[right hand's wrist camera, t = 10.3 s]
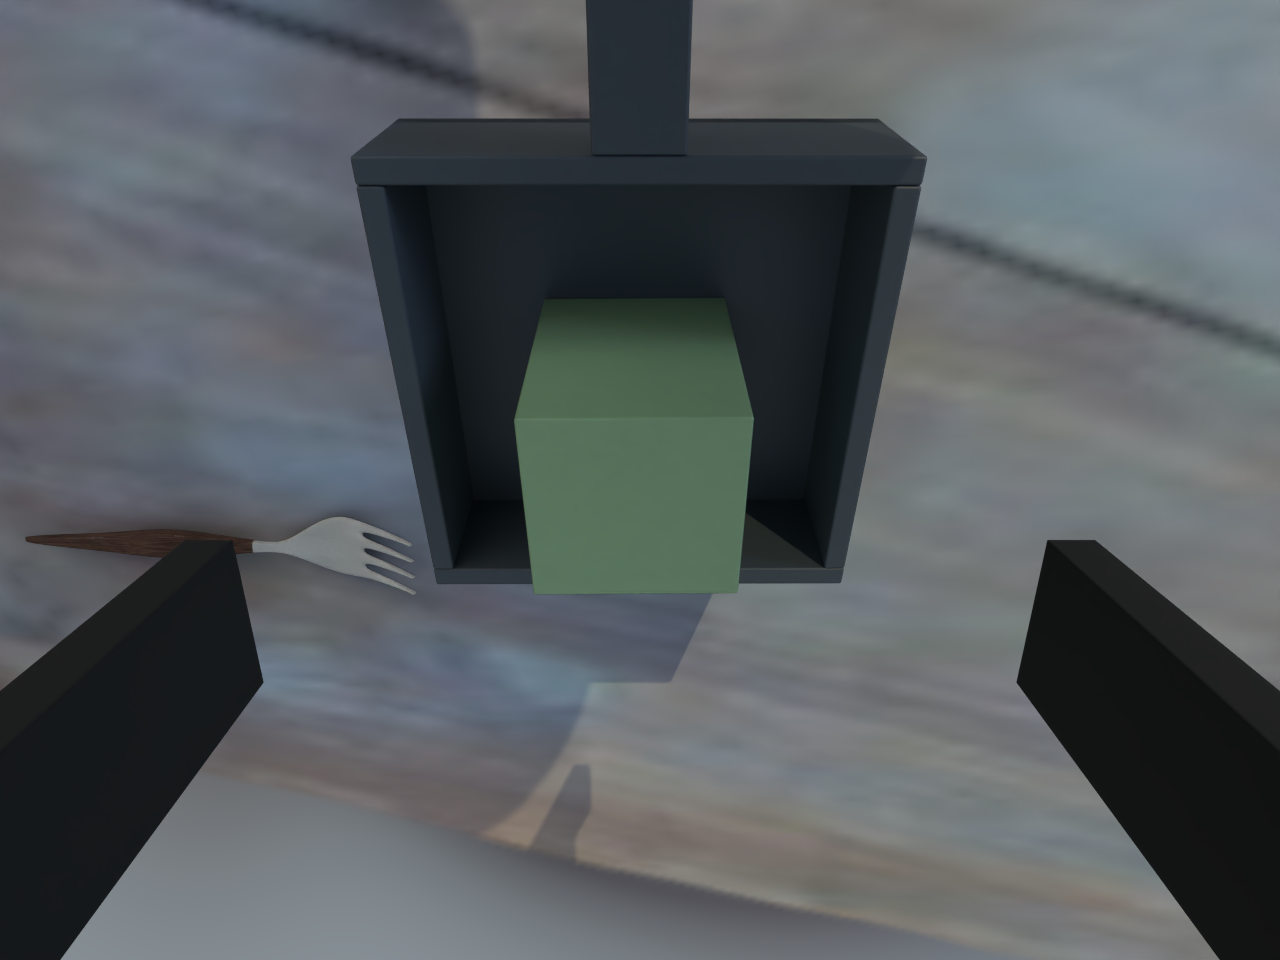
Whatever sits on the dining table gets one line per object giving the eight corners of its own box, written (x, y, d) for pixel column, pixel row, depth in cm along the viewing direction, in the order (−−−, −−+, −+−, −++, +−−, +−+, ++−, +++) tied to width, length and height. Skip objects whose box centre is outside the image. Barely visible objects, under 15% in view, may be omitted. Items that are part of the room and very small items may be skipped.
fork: (26, 503, 31) (-13, 525, 29) (424, 518, 31) (411, 540, 30) (42, 561, 32) (5, 585, 30) (428, 575, 32) (416, 599, 31)
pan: (816, 503, 26) (841, 584, 23) (461, 503, 26) (436, 585, 23) (1031, -806, 12) (1182, -1087, 9) (244, -810, 12) (94, -1095, 9)
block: (724, 297, 21) (754, 417, 16) (716, 449, 24) (738, 594, 19) (543, 298, 21) (513, 419, 16) (556, 450, 24) (533, 595, 19)
